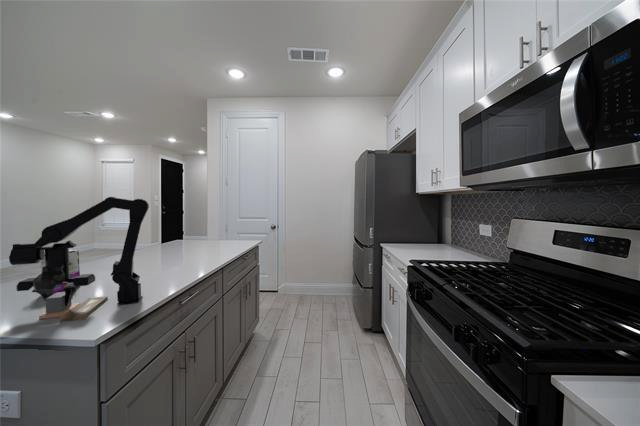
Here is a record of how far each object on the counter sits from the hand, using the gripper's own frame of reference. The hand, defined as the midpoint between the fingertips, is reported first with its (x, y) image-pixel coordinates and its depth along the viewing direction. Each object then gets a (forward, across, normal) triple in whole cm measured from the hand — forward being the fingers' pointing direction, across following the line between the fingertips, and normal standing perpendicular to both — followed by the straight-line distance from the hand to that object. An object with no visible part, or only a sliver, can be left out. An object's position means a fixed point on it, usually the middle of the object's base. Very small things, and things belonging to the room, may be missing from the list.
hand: (59, 306), depth 90 cm
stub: (+2, 0, 0) cm, 2 cm away
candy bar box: (+2, -12, +28) cm, 31 cm away
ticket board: (+2, +8, 0) cm, 8 cm away
